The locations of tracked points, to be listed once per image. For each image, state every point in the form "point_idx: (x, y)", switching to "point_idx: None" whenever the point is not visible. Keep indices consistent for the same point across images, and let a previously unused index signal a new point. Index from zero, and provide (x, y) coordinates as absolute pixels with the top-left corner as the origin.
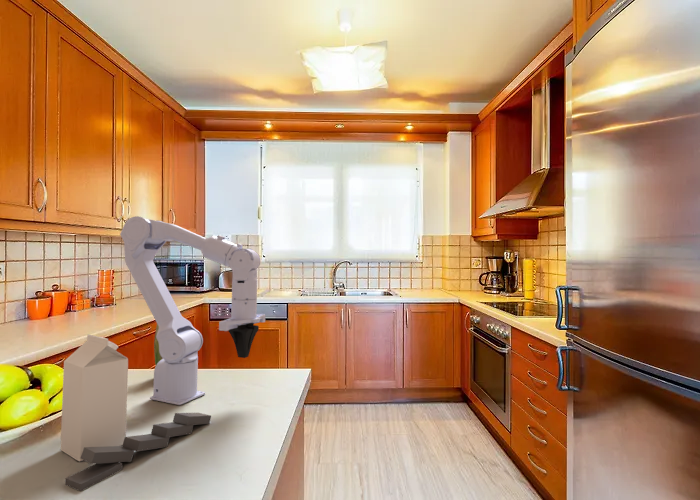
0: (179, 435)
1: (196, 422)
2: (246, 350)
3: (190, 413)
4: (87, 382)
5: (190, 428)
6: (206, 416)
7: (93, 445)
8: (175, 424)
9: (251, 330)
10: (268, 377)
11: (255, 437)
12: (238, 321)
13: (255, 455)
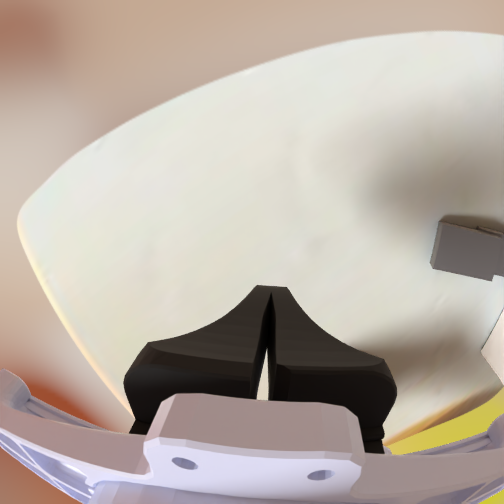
0: (501, 232)
1: (476, 230)
2: (288, 299)
3: (464, 265)
4: None
5: (486, 229)
6: (456, 227)
7: None
8: (501, 255)
9: (297, 363)
10: (91, 273)
11: (456, 82)
12: (481, 472)
13: (494, 63)
